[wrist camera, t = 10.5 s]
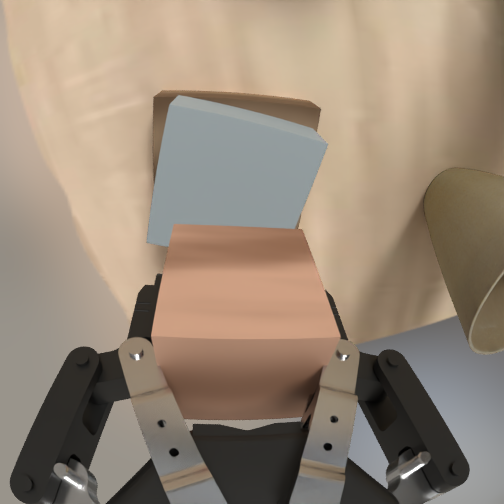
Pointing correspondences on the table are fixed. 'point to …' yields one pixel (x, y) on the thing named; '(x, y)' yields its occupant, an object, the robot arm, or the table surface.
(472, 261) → the plant pot
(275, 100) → the walnut base slab
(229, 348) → the terracotta block
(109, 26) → the table surface
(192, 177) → the grey upper slab
